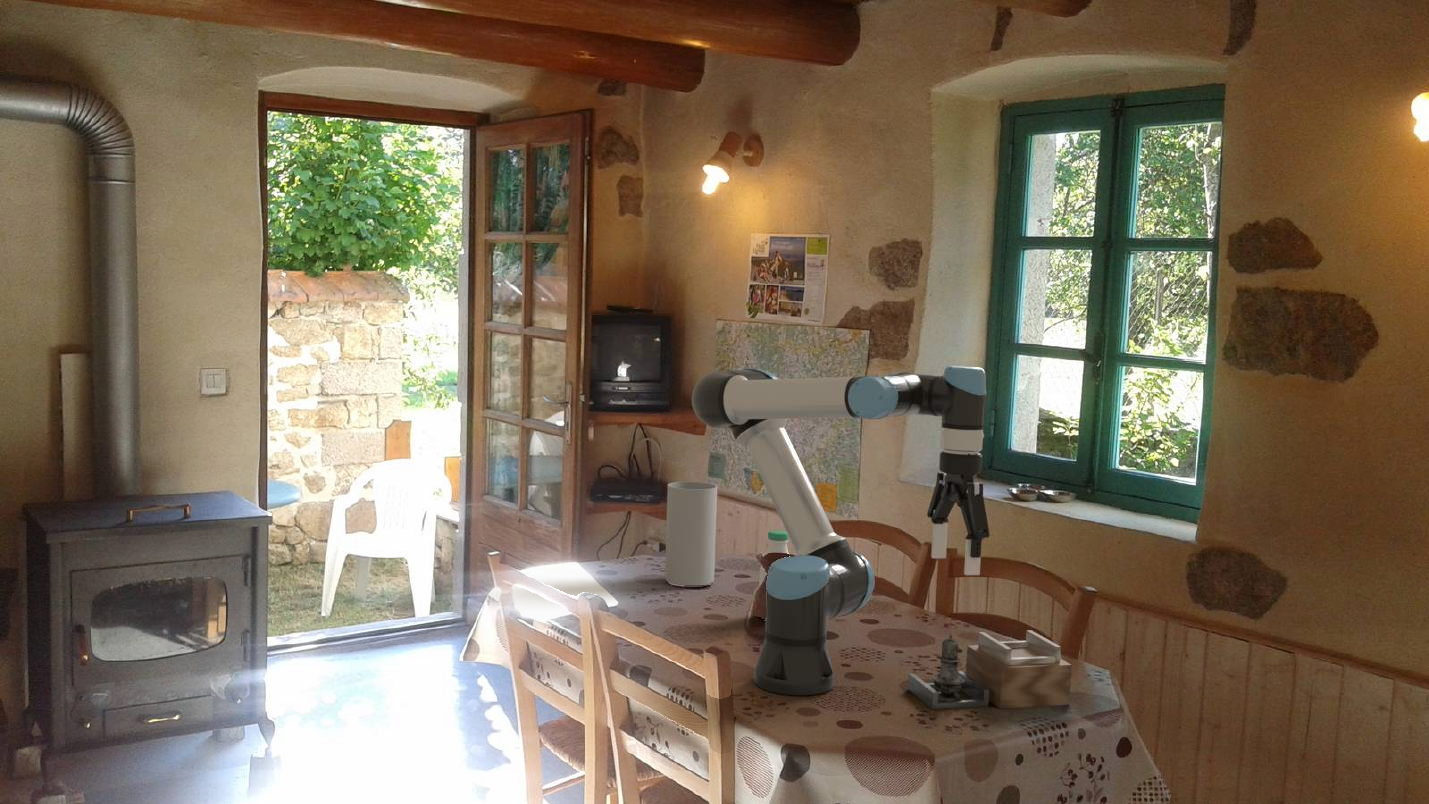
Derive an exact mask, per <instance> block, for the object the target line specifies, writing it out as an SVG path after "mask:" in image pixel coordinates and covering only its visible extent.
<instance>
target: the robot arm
mask: <svg viewBox="0 0 1429 804" xmlns="http://www.w3.org/2000/svg"><path fill="white" fill-rule="evenodd" d="M986 375H987V374H986V371H985V370H984V368H982V367H979V366H978V367H976V366H963V365H949V366H948V365H947V366H946V367H945V368H944V372H943V374H942V375H930V374H919V373H911V372H906V371H905V372H891V373H889V374H887V375H864V376H839V377H837V376H836V377H833V376H832V377H831V376H830V377H805V378H801V377H800V378H778V377H777V376H776V375H774V374H773V373H771V372H770V371H767V370H763V369H756V368H745V369H737V370H734V369H733V370H716V371H712V372H709V373H707V374H705V375H703V376H702V377H701V378H700V379H699V380H698V381H697V382H696V384H695V385H694V389H693V390H692V393H691V394H692V395H691V405H692V409H693V411H694V413H695V415H696V417H697V418H698V420H700V421H701V422H702V423H703V424H705V425H706V426H708V427H711V428H714V429H730V432H731V433H732V435H733V438H734V439H735V442H736V443H737V444H739V445H741V446H745V447H746V448H747V450H748V452H749V454H750V457H751V459H752V460H753V462H754V463H753V464H754V465H755V468H756V469H757V472H758V473H759V475H760V478H761V480H762V482H763V484H764V487H765V489H766V490H767V492H768V495H769V497H770V499H771V502H772V503H773V505H774V507H775V509H776V511H777V514H778V516H779V518H780V520H781V522H782V524H783V526H784V528H785V531H786V532H787V533H788V538H789V540H790V542H791V543H792V546H793V547H794V550H795V556H791V555H790V556H789V557H784V558H781V559H778V560H776V561H775V562H773V563H772V564H771V566H770V567H769V570H768V576H767V581H766V590H767V591H766V618H765V620H764V621H765V623H764V642H763V644H762V647H761V650H760V653H759V656H758V658H757V661H756V663H755V665H754V668H753V669H754V670H753V683H754V684H755V685H756V686H757V687H759V688H761V689H762V690H764V691H768V692H771V693H775V694H780V695H788V696H789V695H790V696H814V695H818V694H823V693H826V692H829V691H831V690H832V689H833V688H834V685H835V683H834V682H835V672H834V668H833V664H832V662H831V661H832V660H831V658H830V654H829V650H828V647H827V646H828V645H827V634H828V633H827V632H828V631H827V630H828V621H830V620H833V619H835V618H839V617H841V616H848V615H851V614H853V613H854V612H857V610H860V609H861V608H863V607H865V605H866V604H867V603H868V602H869V600H870V599H871V597H872V596H873V593H874V592H873V591H874V589H875V575H874V571H873V567H872V565H871V563H870V562H869V560H868V559H867V558H866V557H864V556H863V555H862V554H859V553H858V552H857V551H853V550H852V547H851V546H850V544H849V542H848V540H847V538H846V537H845V536H841V535H840V534H839V535H838V534H837V533H836V532H835V531H834V529H833V526H832V525H831V522H830V521H829V520H830V519H828V516H827V514H826V512H825V510H824V508H823V505H822V504H821V501H820V500H819V498H818V496H817V493H816V491H815V490H814V489H815V488H814V487H813V485H812V483H811V481H810V478H809V476H808V475H807V472H806V470H805V468H804V465H802V462H801V459H800V458H799V456H798V454H797V452H796V451H797V450H796V449H795V447H794V445H793V444H792V442H791V439H790V437H789V435H788V433H787V431H786V425H787V423H788V420H789V419H793V420H796V419H864V420H881V419H885V418H890V417H901V416H910V415H919V416H933V417H941V426H940V441H939V442H940V443H939V445H940V446H939V448H940V449H942V451H940V452H939V466H938V469H939V471H940V472H937V474H936V481H935V482H936V483H935V486H934V490H933V493H932V497H931V499H930V503H929V507H928V509H927V513H926V515H927V518H931V519H930V521H931V523H932V536H931V537H932V538H931V554H930V557H931V558H932V559H947V546H948V545H947V544H948V529H949V528H948V527H949V524H948V523H949V519H948V518H949V516H950V514H951V511H952V510H953V508H954V506H955V504H956V506H957V507H959V508H960V510H961V514H962V518H963V521H964V525H965V528H966V532H967V535H966V536H965V549H964V565H963V566H964V568H963V575H965V576H980V575H981V559H982V542H983V540H985V539H987V538H988V539H989V537H990V527H989V523H988V517H987V511H986V504H985V500H984V484H983V482H975V481H974V479H975V478H974V476H975V475H976V476H977V475H979V474H981V472H982V465H983V455H982V454H981V453H980V452H981V451H982V450H983V441H984V438H985V434H984V425H985V424H984V419H985V408H986V395H987V394H988V393H987V390H986V389H987V387H986V386H987V385H986V384H987V380H986V379H987V378H986V377H987V376H986Z"/></svg>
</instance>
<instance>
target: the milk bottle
mask: <svg viewBox="0 0 1429 804" xmlns="http://www.w3.org/2000/svg"><path fill="white" fill-rule="evenodd" d="M767 538H768V539H767V541H768V547H767V549H766V551H765V554H764V556H765V555H766V554H768V553H772V552H783V553H787V554H789V555H790V553H789V550H788V549H789V548H788V542H789V535H788V533H787V531H786V530H777V529H775V530H768V533H767ZM765 576H766V572H765V569H764V568H763V567H762V565H761V564H760V569H759V580H758V581H759V584H758V587H759V586H760V585H761V584H762V582H763V580H764V578H765Z"/></svg>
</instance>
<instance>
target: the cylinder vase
mask: <svg viewBox="0 0 1429 804" xmlns="http://www.w3.org/2000/svg"><path fill="white" fill-rule="evenodd" d="M666 498H667V499H666V533H665V534H666V536H665V562H664V567H665V568H664V580H665V579H666V580H667V581H668V582H671V583H673V584H678V585H706V584H709V583H711V582H713V581H714V582H715V563H716V562H715V561H716V534H717V533H716V531H717V508H718V507H717V506H718V504H717V503H718V485H716V484H715V483H712V482H711V483H708V482H702V481H701V482H700V481H674V482H670V483H668V484H667V497H666ZM714 582H713V583H714Z"/></svg>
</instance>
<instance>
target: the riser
mask: <svg viewBox="0 0 1429 804" xmlns="http://www.w3.org/2000/svg"><path fill="white" fill-rule="evenodd" d="M1025 632H1026V634H1025V640H1010V641H1006V640H1004V641H999V639H998V640H997V639H996V638H995V637H993V636H991V635H989V634H988V633H986V632H984V631H979V632H978V643H977V644H975V645H967V647H966V665H965V666H966V667H965V673H966V674H967V675H968V676H970V677H971V678H973V679H974V680H976V681H977V682H979V683H980V684H981V685H983V686H984V687H986V688H987V689H989V703H991V704H992V705H994V706H996V707H997V708H999V709H1013V708H1014V709H1016V708H1017V709H1018V708H1019V709H1020V708H1032V707H1033V708H1034V707H1035V708H1036V707H1052V706H1053V707H1054V706H1070V699H1071V698H1070V697H1071V685H1072V684H1071V683H1072V682H1071V681H1072V680H1071V679H1072V666H1073V664H1071V663H1070V662H1067V661H1066V660H1064V659H1062V658H1061V657H1062V656H1061V655H1062V654H1061V653H1062V646H1060V645H1059V644H1057V643H1055V642H1053V641H1051V640H1049V639H1048V638H1046V637H1044V636H1042V635H1040V634H1039V633H1037V632H1035V631H1033V630H1032V629H1030V630H1026V631H1025Z"/></svg>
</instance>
